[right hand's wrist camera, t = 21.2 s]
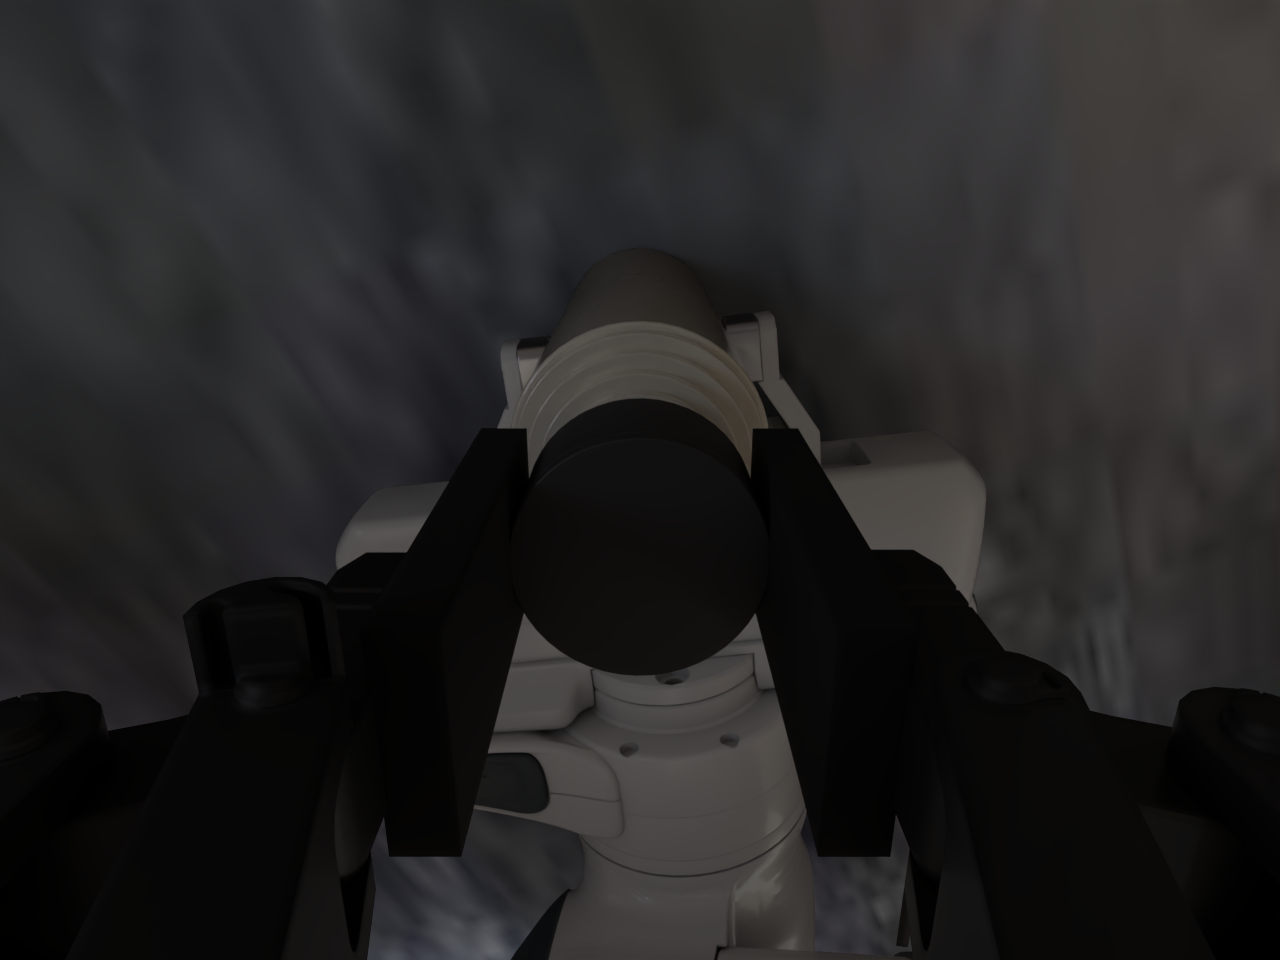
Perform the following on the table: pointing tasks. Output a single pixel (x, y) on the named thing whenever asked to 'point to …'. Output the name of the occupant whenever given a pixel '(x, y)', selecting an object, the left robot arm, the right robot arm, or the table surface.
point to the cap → (639, 539)
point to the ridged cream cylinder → (639, 352)
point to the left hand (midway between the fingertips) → (635, 328)
